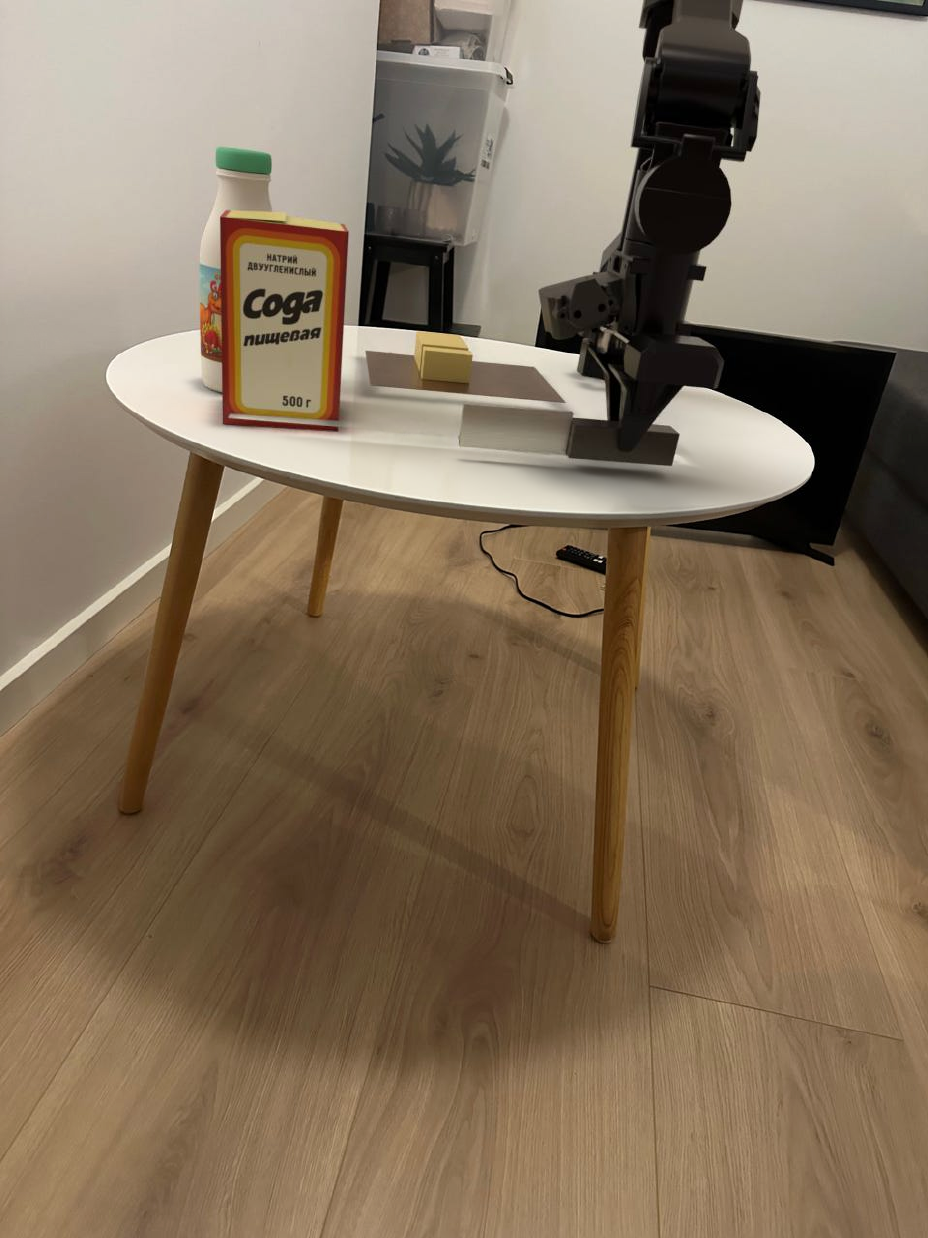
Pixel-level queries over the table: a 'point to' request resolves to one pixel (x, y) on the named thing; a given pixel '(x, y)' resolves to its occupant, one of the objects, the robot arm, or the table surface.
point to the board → (482, 382)
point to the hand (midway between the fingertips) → (619, 445)
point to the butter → (436, 343)
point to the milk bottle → (240, 191)
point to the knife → (560, 434)
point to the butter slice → (446, 365)
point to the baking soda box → (282, 317)
